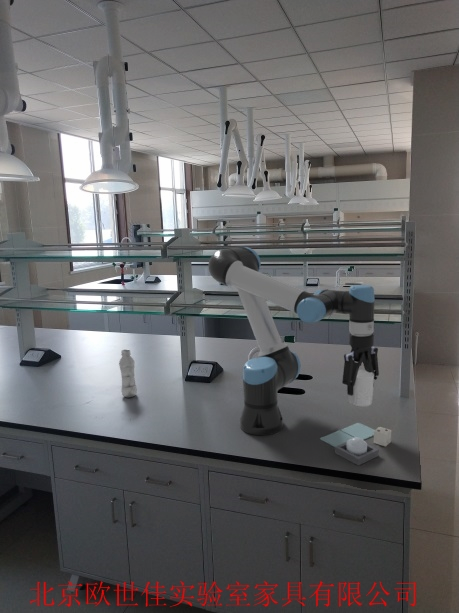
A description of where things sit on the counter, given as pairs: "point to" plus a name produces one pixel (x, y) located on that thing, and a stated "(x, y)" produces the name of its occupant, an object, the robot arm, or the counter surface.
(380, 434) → the die
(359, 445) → the dome
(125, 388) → the plastic bottle
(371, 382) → the white cup
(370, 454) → the frame
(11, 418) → the counter surface
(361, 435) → the tile
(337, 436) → the tile
